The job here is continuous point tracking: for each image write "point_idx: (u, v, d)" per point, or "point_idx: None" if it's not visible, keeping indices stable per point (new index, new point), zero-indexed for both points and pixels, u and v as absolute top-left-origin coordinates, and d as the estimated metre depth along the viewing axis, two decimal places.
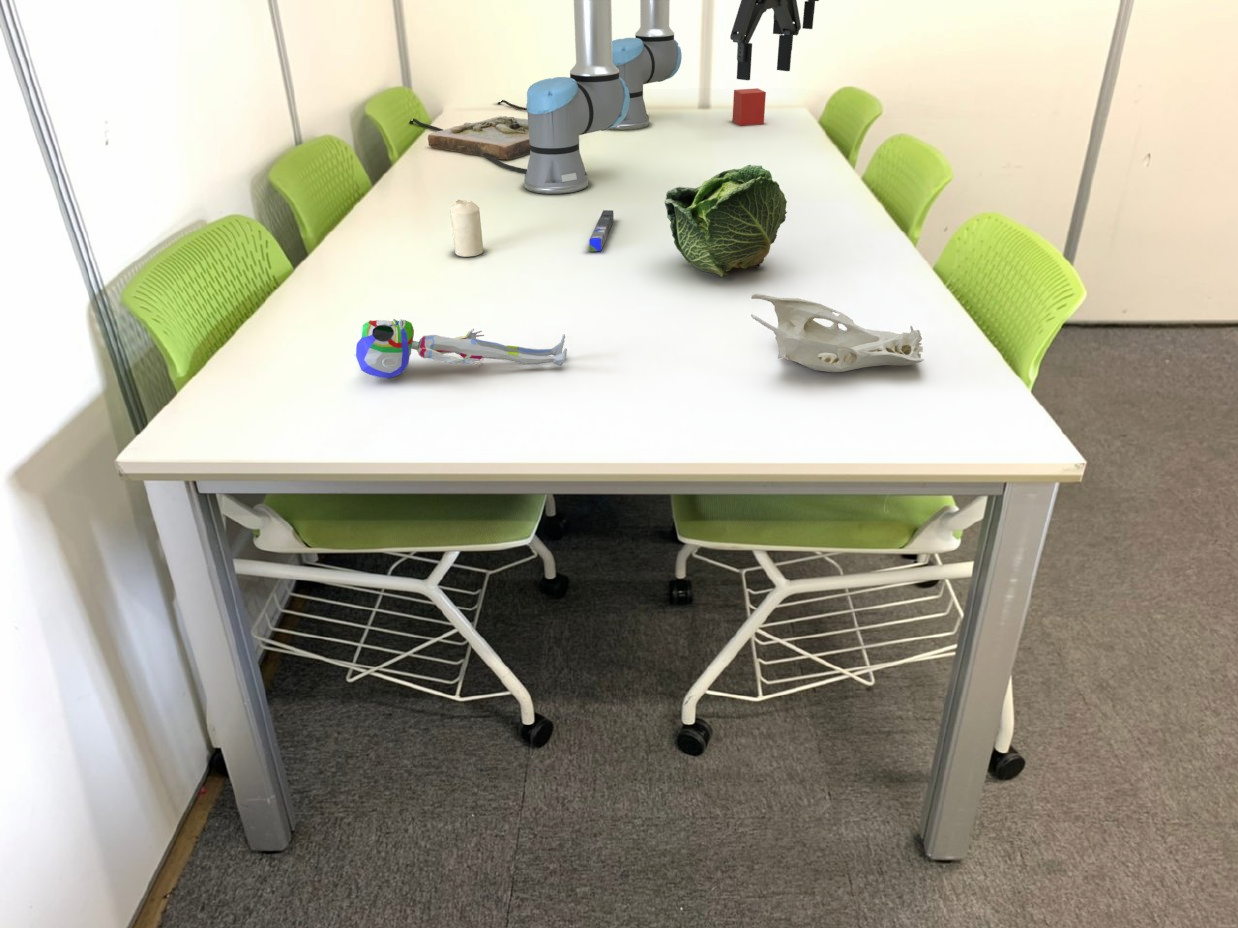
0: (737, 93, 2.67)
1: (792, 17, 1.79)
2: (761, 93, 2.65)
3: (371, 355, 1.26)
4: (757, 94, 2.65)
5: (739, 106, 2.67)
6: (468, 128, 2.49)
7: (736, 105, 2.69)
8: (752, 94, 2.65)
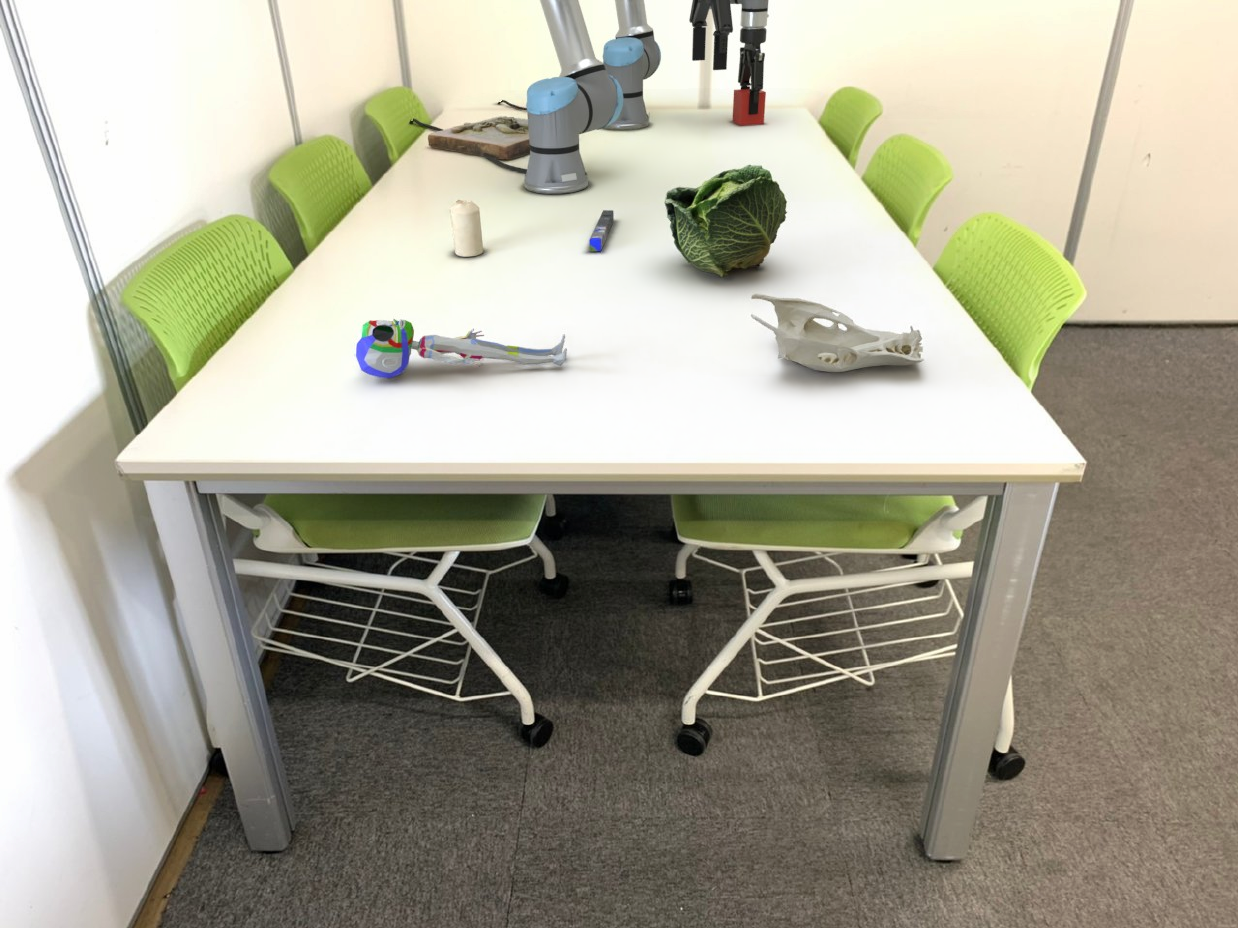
0: (737, 93, 2.67)
1: None
2: (761, 93, 2.65)
3: (371, 355, 1.26)
4: None
5: (739, 106, 2.67)
6: (468, 128, 2.49)
7: (736, 105, 2.69)
8: None
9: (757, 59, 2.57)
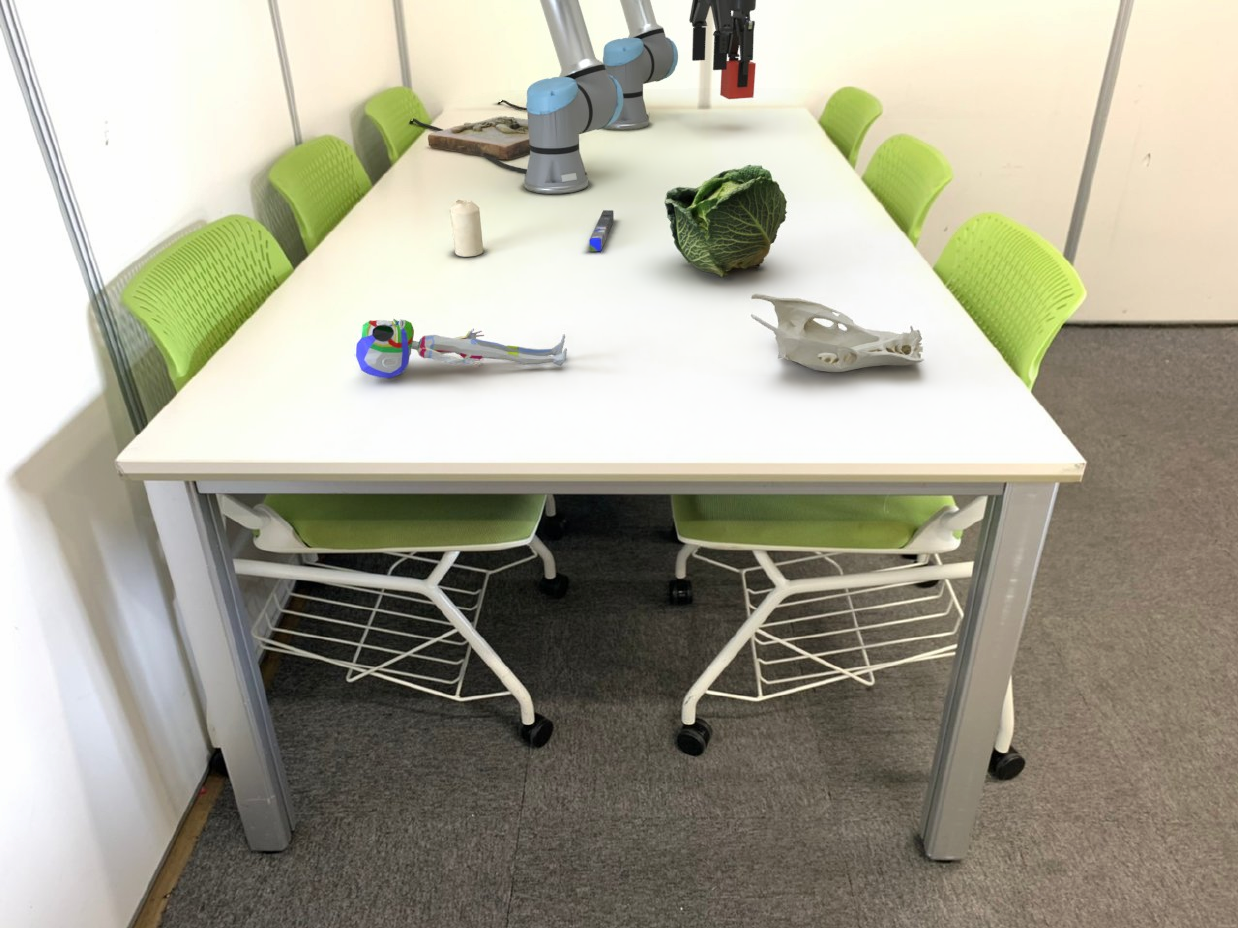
0: None
1: None
2: (751, 64, 2.51)
3: (371, 355, 1.26)
4: None
5: (728, 78, 2.53)
6: (468, 128, 2.49)
7: (724, 78, 2.55)
8: None
9: (747, 27, 2.42)
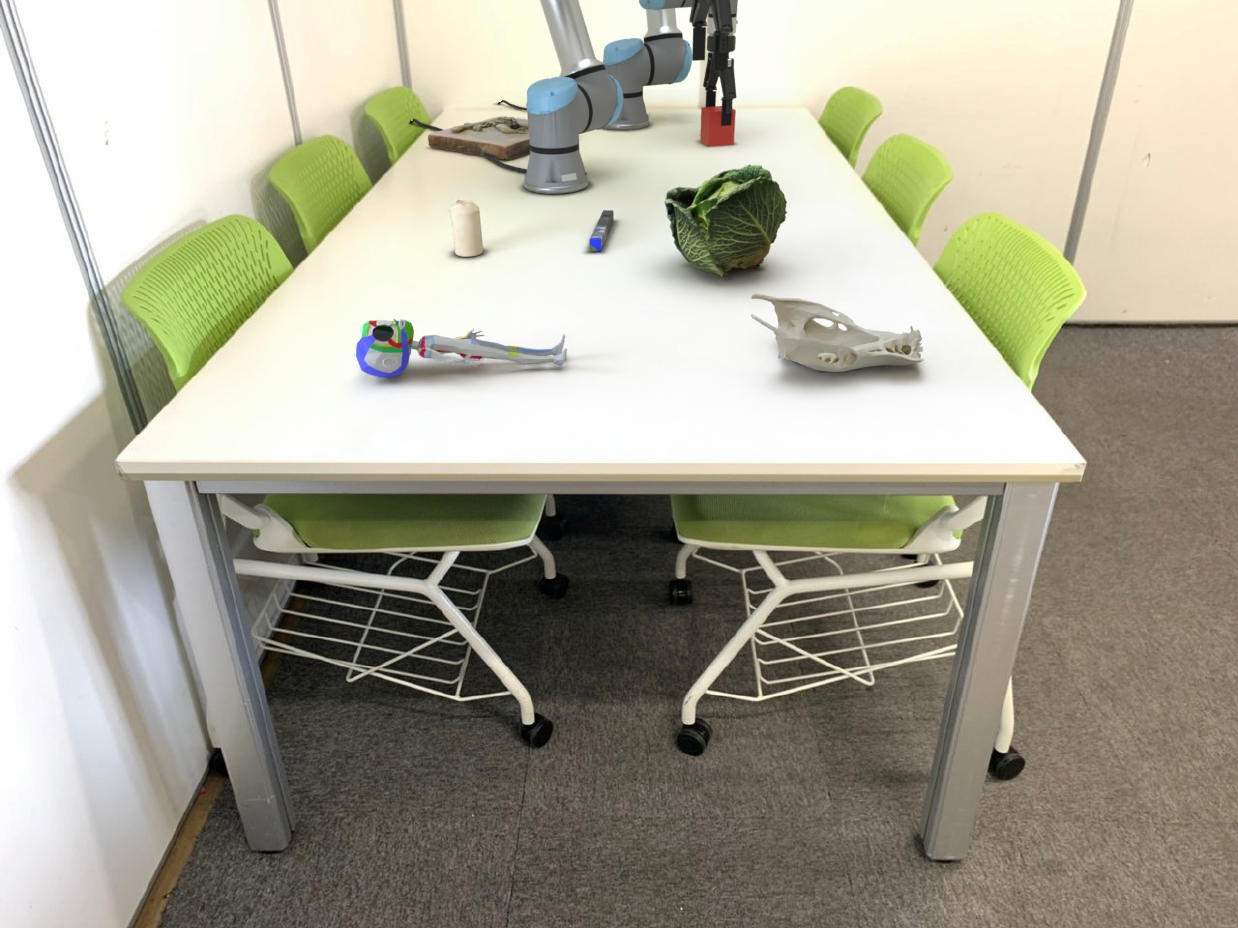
0: (705, 111, 2.45)
1: None
2: None
3: (371, 355, 1.26)
4: None
5: (707, 125, 2.45)
6: (468, 128, 2.49)
7: (704, 124, 2.47)
8: None
9: None
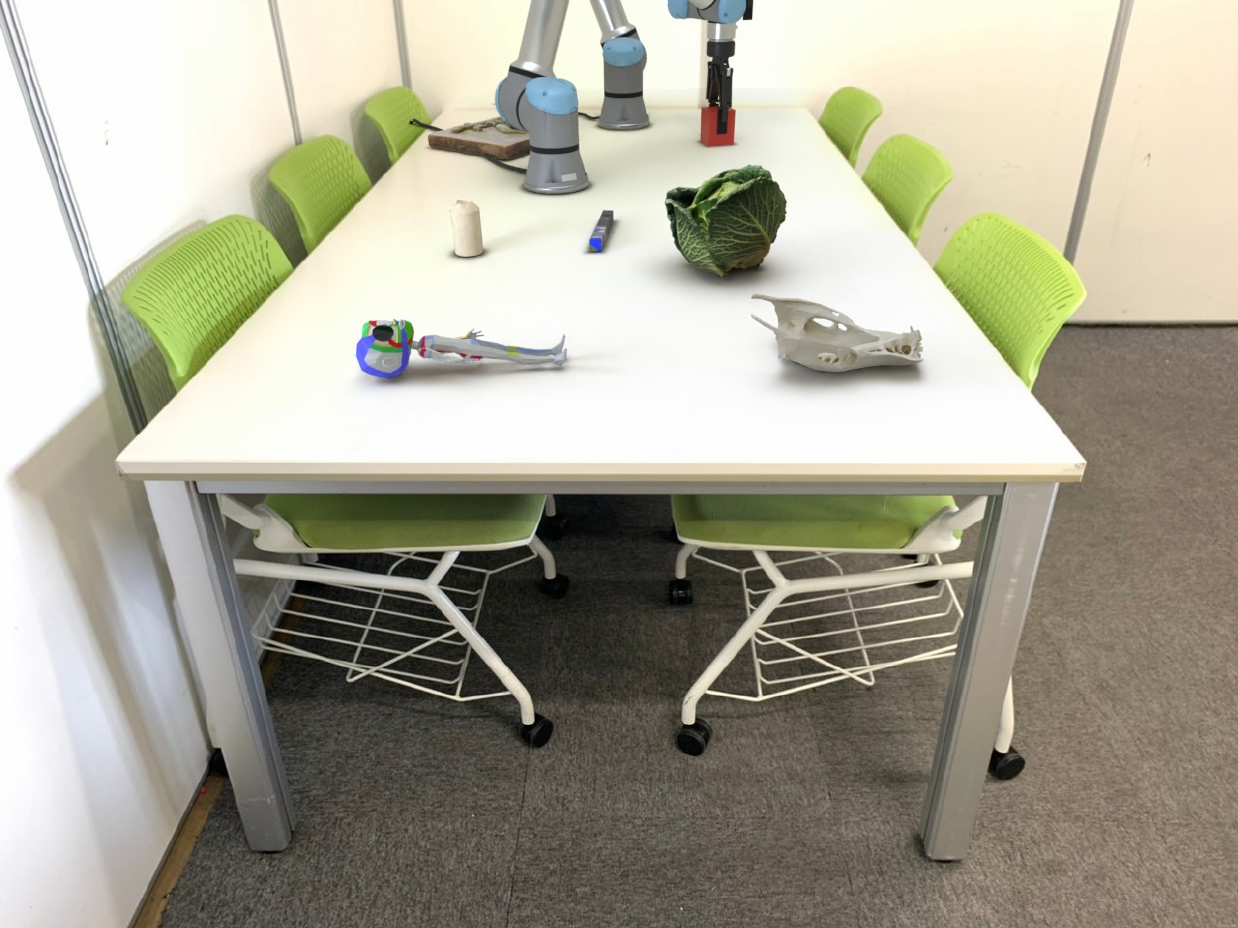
0: (705, 111, 2.45)
1: None
2: (731, 111, 2.44)
3: (371, 355, 1.26)
4: None
5: (707, 125, 2.45)
6: (468, 128, 2.49)
7: (704, 124, 2.47)
8: None
9: None
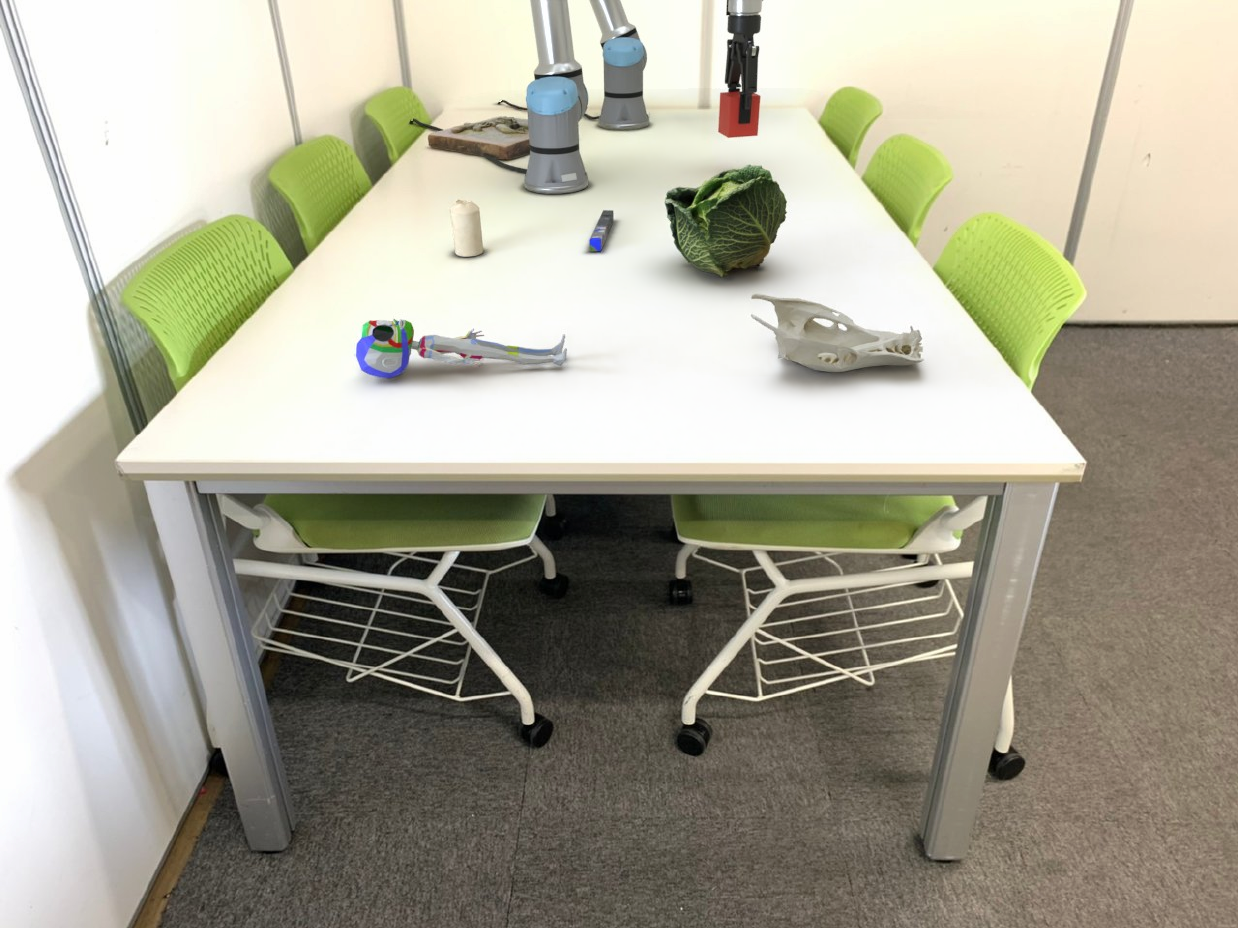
0: (725, 97, 2.12)
1: None
2: (755, 97, 2.11)
3: (371, 355, 1.26)
4: None
5: (727, 113, 2.12)
6: (468, 128, 2.49)
7: (723, 112, 2.14)
8: None
9: None
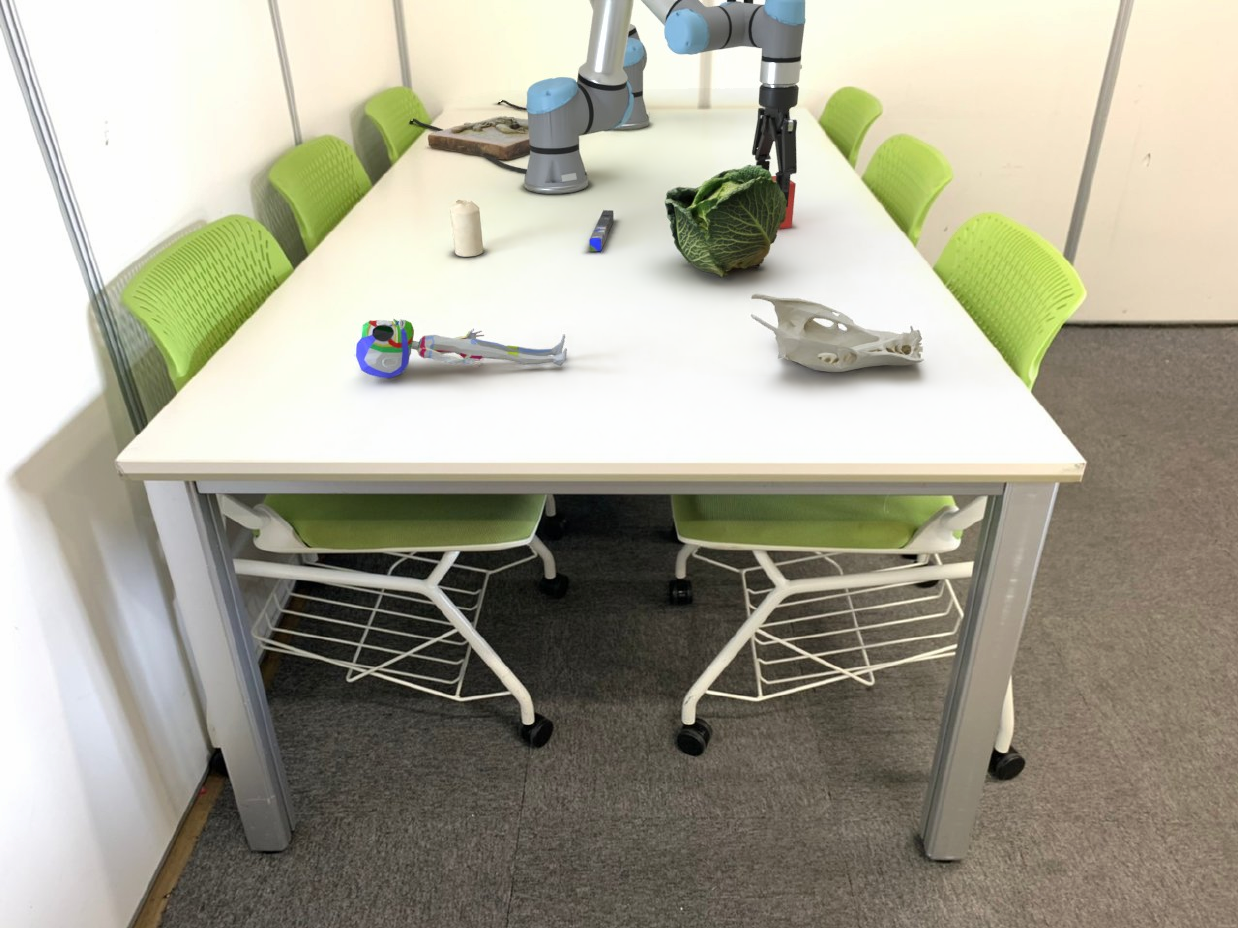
0: None
1: None
2: None
3: (371, 355, 1.26)
4: None
5: None
6: (468, 128, 2.49)
7: None
8: None
9: None
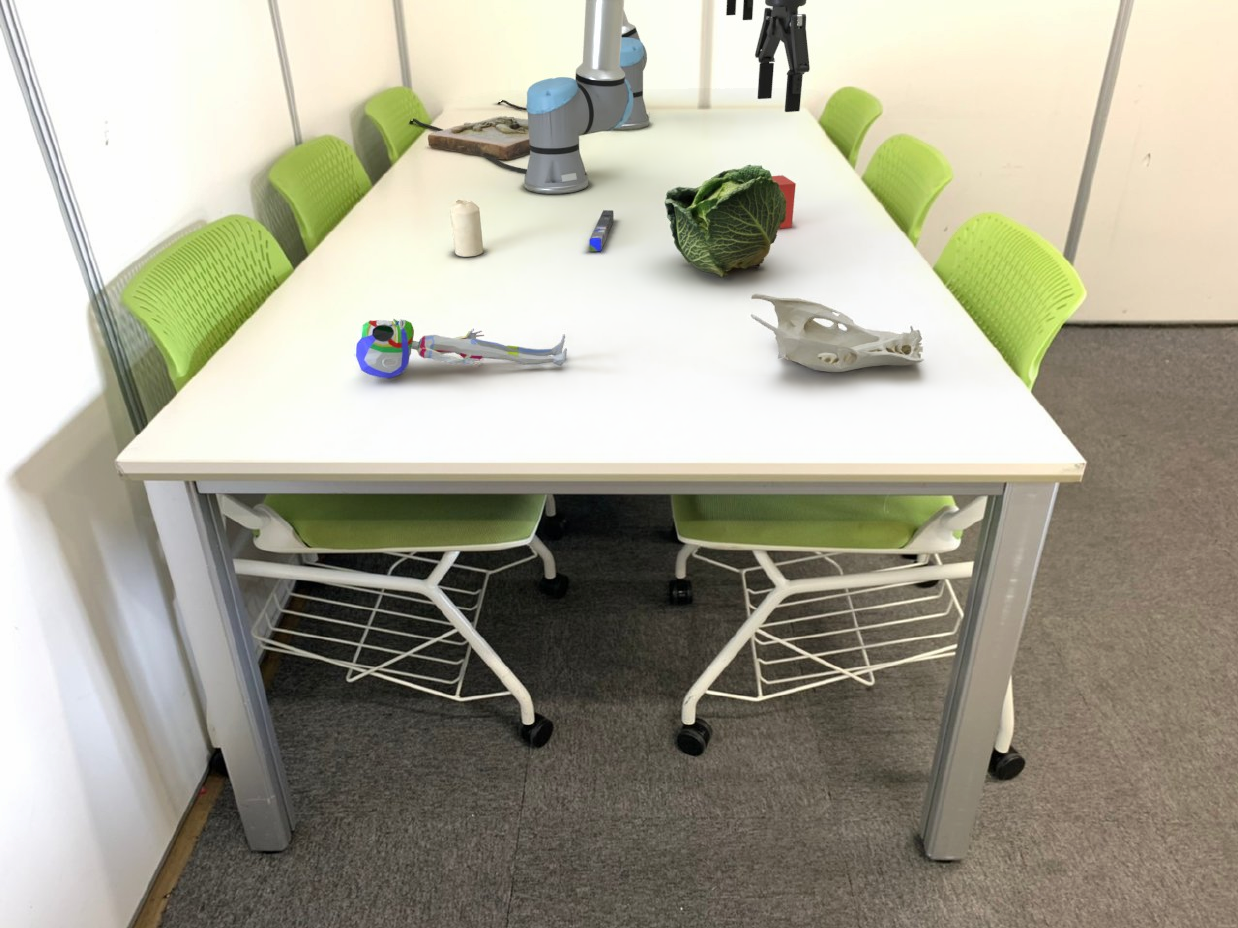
0: None
1: None
2: (789, 185, 1.81)
3: (371, 355, 1.26)
4: (783, 186, 1.81)
5: None
6: (468, 128, 2.49)
7: None
8: None
9: None
